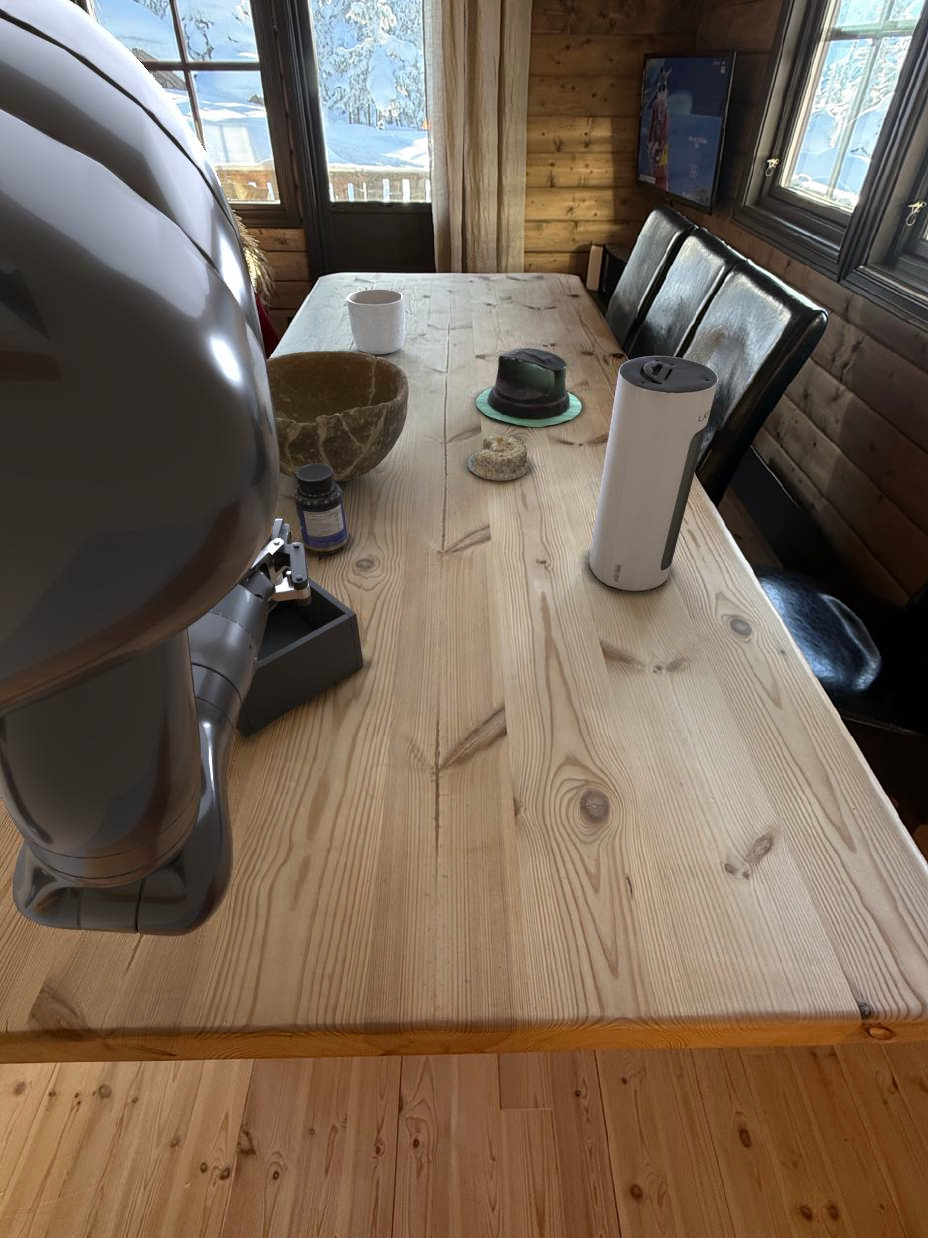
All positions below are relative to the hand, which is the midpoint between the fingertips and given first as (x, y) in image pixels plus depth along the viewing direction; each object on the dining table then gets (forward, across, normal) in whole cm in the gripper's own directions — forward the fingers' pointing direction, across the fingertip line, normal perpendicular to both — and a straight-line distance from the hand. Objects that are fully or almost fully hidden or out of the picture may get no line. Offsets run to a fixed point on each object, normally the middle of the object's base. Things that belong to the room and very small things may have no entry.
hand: (247, 528), depth 61 cm
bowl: (+44, -1, +18) cm, 47 cm away
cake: (+44, -28, +18) cm, 55 cm away
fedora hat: (+68, -37, +17) cm, 79 cm away
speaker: (+15, -42, +18) cm, 48 cm away
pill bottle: (+23, -3, +18) cm, 29 cm away
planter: (+101, -7, +17) cm, 103 cm away
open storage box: (0, +1, +18) cm, 18 cm away
